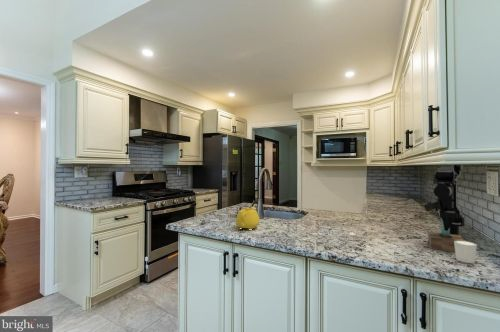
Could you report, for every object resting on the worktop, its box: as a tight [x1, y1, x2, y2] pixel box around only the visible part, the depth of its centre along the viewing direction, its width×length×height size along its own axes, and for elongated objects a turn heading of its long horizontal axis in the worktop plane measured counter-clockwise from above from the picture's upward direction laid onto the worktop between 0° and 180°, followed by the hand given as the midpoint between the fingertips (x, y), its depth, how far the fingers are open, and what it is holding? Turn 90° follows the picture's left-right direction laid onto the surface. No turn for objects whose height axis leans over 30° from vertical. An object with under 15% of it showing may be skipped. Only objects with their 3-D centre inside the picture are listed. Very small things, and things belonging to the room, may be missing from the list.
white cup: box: [454, 240, 478, 264], centre depth 96 cm, size 7×7×7 cm
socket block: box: [427, 231, 466, 253], centre depth 112 cm, size 12×12×5 cm
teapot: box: [235, 206, 261, 230], centre depth 150 cm, size 14×20×13 cm
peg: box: [440, 218, 450, 236], centre depth 112 cm, size 3×3×9 cm
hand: (445, 229), depth 112 cm, fingers closed on peg, 3 cm apart
